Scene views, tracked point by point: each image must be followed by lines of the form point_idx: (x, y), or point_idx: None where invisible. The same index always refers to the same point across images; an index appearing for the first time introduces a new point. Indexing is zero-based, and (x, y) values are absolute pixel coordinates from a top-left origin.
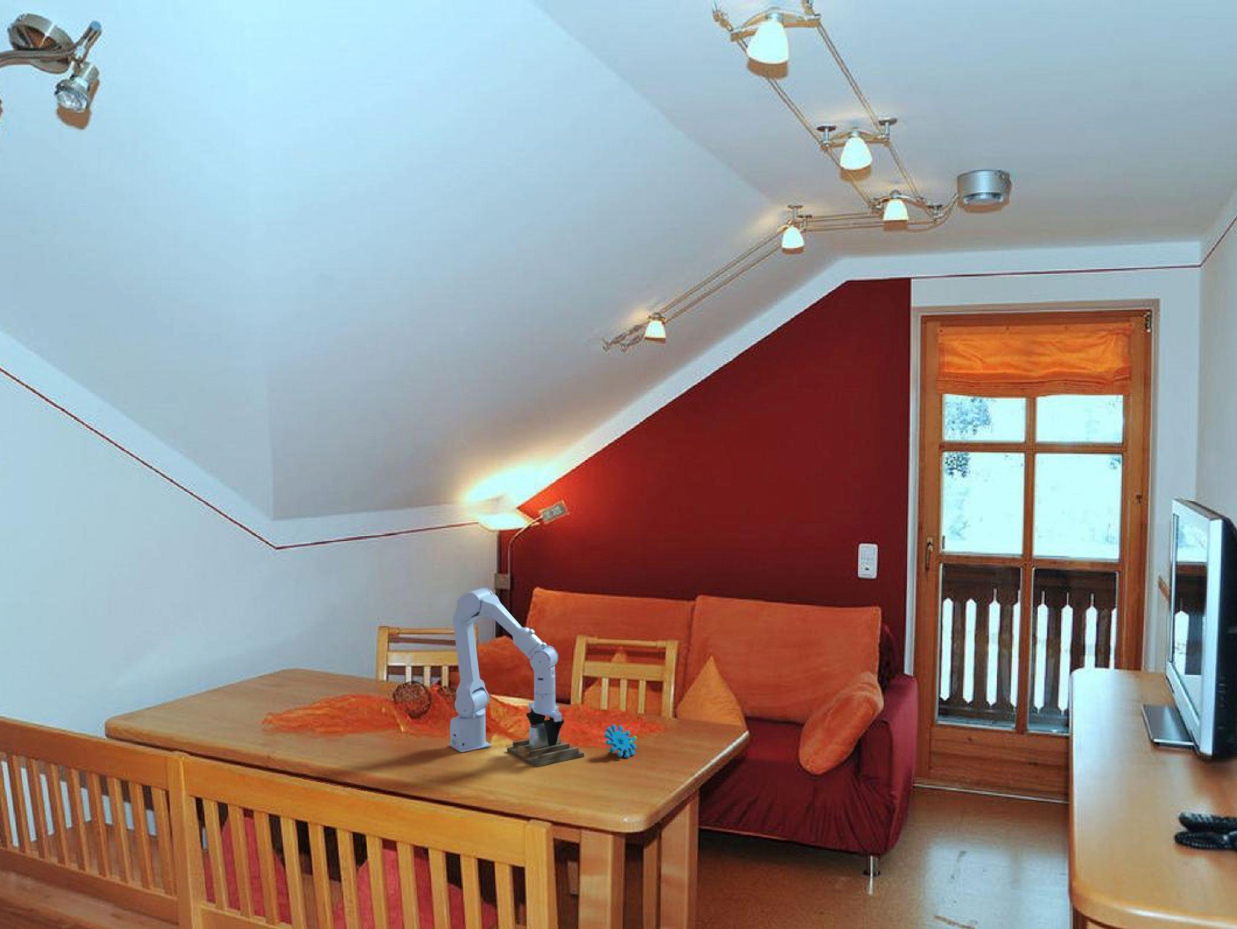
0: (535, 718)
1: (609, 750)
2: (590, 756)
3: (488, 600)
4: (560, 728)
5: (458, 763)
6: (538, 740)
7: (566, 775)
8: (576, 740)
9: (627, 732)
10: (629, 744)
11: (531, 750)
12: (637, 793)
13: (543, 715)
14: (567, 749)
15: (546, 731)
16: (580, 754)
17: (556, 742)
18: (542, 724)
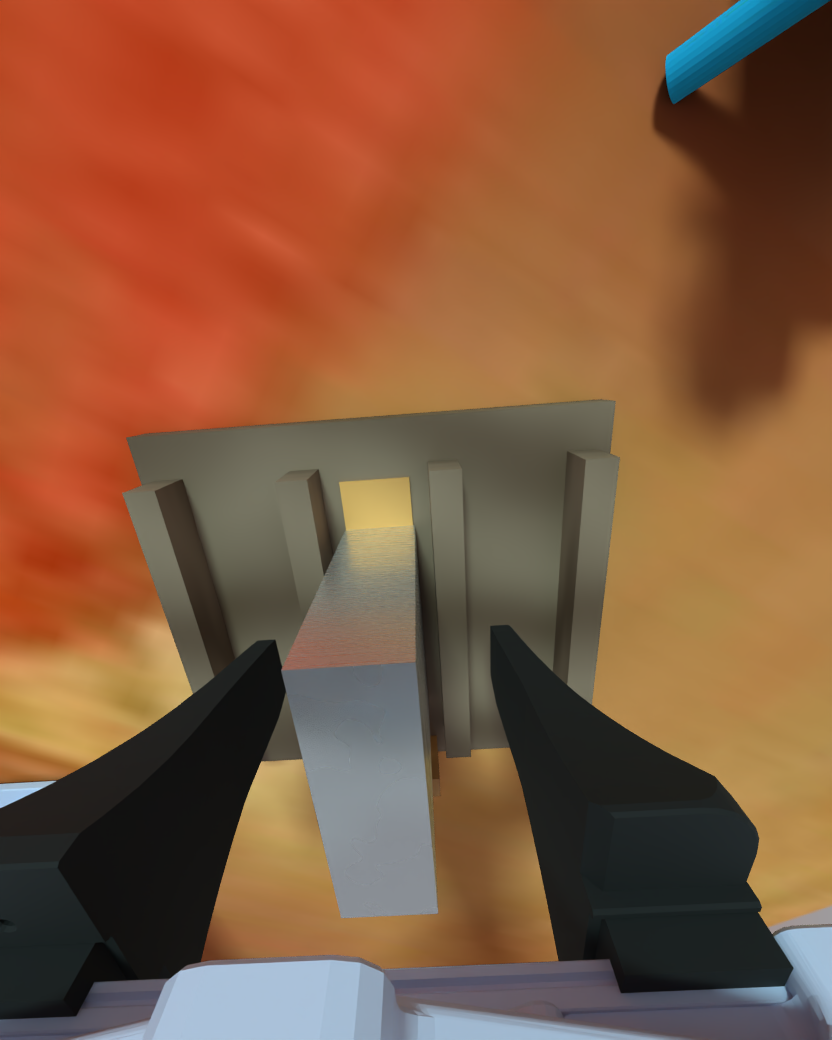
0: (191, 892)
1: (673, 96)
2: (630, 351)
3: None
4: (615, 724)
5: (321, 919)
6: (429, 747)
7: (802, 656)
8: (169, 227)
9: None
10: None
11: (452, 748)
12: None
13: (137, 834)
14: (589, 553)
15: (532, 815)
16: (609, 437)
17: (516, 633)
18: (351, 820)
